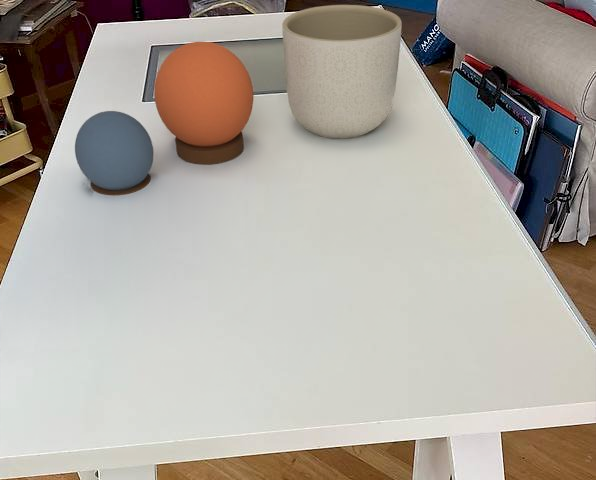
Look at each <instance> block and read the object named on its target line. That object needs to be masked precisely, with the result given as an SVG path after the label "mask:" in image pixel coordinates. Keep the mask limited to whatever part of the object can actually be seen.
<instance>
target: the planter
mask: <svg viewBox="0 0 596 480" xmlns="http://www.w3.org/2000/svg"><path fill="white" fill-rule="evenodd" d="M402 26H403V23H402V19H401V17H399V16H398V15H397V14H395V13H394V12H391V11H389V10H386V9H383V8H380V7H375V6H368V5H360V4H359V5H358V4H331V5H322V6H314V7H308V8H305V9H301V10H299V11H296V12H293V13H291V14H290V15H288V16H286V17H285V18H284V20H283V21H282V29H281V30H282V45H283V61H284V62H283V63H284V75H285V86H286V95H287V100H288V105H289V109H290V111H291V114H292V115H293V117H294V118H295V120H296V121H297V122H298V124H300V125H301V126H302V127H303V128H305V129H306V130H307V131H309V132H311V133H312V134H315V135H317V136H320V137H324V138H327V139H328V138H329V139H351V138H357V137H360V136H363V135H366V134H368V133H370V132H372V131H373V130H374V129H376V128H377V127H378V126H380V125H381V124H382V123H383V122H385V120H386V118H387V117H388V115H389V114H390V112H391V110H392V107H393V104H394V100H395V94H396V90H397V89H396V88H397V81H398V71H399V62H400V61H399V60H400V51H401V49H400V48H401V41H402V40H401V38H402V29H403V28H402Z"/></svg>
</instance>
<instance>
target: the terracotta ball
mask: <svg viewBox="0 0 596 480" xmlns="http://www.w3.org/2000/svg"><path fill="white" fill-rule="evenodd" d="M153 91H154V93H153V95H154V102H155V107H156V110H157V113H158V115H159V118H160V120H161V122H162V123H163V124H164V126H165V127H166V129H167V130H168V131H169V132H170V133H171V134H172V135H173V136H174V141H175V143H174V144H175V150H176V154H177V156H178V157H179V158H180V159H181V160H182V161H184V162H187V163H190V164H194V165H216V164H223V163H226V162H230V161H232V160H234V159H236V158H237V157H239V156H240V155H242V153H243V152H244V149H245V146H244V144H245V143H244V134H243V130H244V129H245V127H246V125H247V124H248V122H249V120H250V118H251V115H252V111H253V106H254V88H253V83H252V79H251V76H250V73H249V72H248V69H247V68H246V65H244V63H243V62H242V61H241V59H240V58H239V57H238V56H237V55H236V54H235V53H233V52H232V51H231V50H230V49H228V48H227V47H224V46H223V45H221V44H217V43H215V42H212V41H203V40H202V41H201V40H200V41H191V42H188V43H185V44H183V45H181V46H179V47H177V48H176V49H175V50H173V51H171V52H170V53H169V54H168V55H167V56H166V58H165V59H164V60H163V61H162V63H161V65H160V67H159V69H158V71H157V74H156V76H155V80H154V90H153Z"/></svg>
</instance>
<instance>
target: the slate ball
mask: <svg viewBox="0 0 596 480" xmlns="http://www.w3.org/2000/svg"><path fill="white" fill-rule="evenodd" d="M74 142H75V143H74V156H75V159H76V162H77V165H78V167H79V169H80V171H81V172H82V174H83V175H84V176H85V177H86V178H87V180H88V181H89V182H90V187H91V189H92V190H93V191H94V192H95V193H97V194H100V195H104V196H111V197H112V196H113V197H115V196H125V195H130V194H133V193H137V192H139V191H142V190H143V189H144V188H146V187H147V186H148V185H149V184H150V182H151V177H152V176H151V175H150V171H151V169H152V166H153V163H154V147H153V146H154V145H153V142H152V139H151V136H150V134H149V132H148V131H147V129H146V127H144V125H143V124H142V123H141V122H140V121H139V120H138V119H136V118H135V117H133V116H131V115H130V114H128V113H125V112H122V111H117V110H106V111H105V110H104V111H101V112H98V113H95V114H93V115H92V116H90V117H89V118H88V119H86V120H85V121H84V122H83V123H82V125H81V126H80V128H79V129H78V131H77V134H76V136H75V141H74Z"/></svg>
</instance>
